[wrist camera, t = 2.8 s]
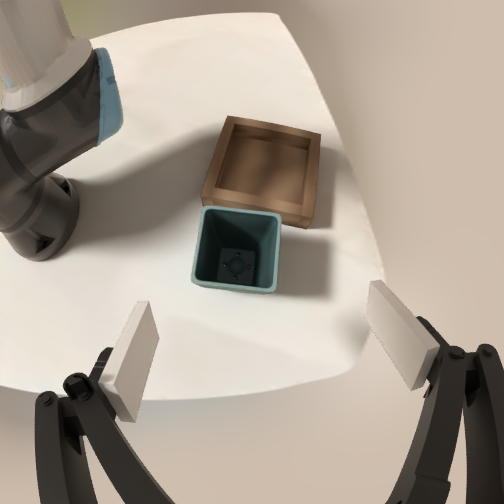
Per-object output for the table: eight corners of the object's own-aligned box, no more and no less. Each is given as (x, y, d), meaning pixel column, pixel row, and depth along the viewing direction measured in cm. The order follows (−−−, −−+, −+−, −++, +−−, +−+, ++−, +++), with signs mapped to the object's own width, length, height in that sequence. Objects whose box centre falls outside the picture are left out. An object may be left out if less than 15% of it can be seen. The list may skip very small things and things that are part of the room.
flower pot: (266, 303, 37) (276, 292, 29) (199, 295, 37) (189, 282, 28) (272, 240, 40) (282, 213, 31) (208, 233, 40) (202, 204, 31)
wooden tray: (203, 208, 41) (200, 195, 37) (227, 131, 45) (227, 115, 41) (305, 229, 41) (313, 218, 37) (315, 149, 45) (320, 134, 41)
